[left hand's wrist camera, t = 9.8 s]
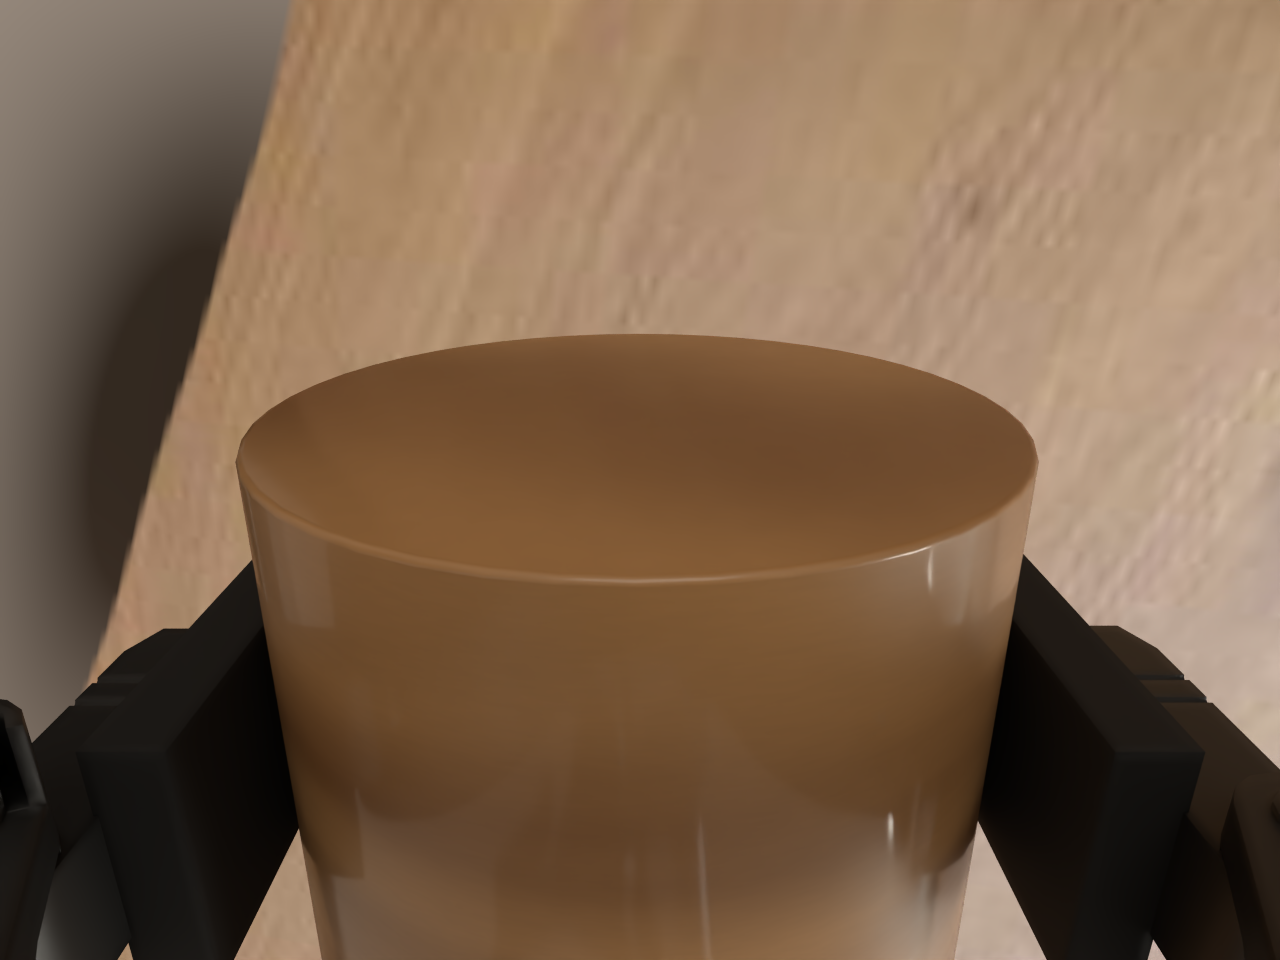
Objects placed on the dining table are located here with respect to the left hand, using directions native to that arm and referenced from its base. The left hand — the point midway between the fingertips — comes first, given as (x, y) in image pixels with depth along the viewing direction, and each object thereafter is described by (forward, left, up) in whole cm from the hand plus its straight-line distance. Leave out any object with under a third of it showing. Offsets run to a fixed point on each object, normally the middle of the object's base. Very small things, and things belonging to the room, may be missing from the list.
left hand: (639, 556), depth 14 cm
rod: (+7, +5, -1) cm, 9 cm away
